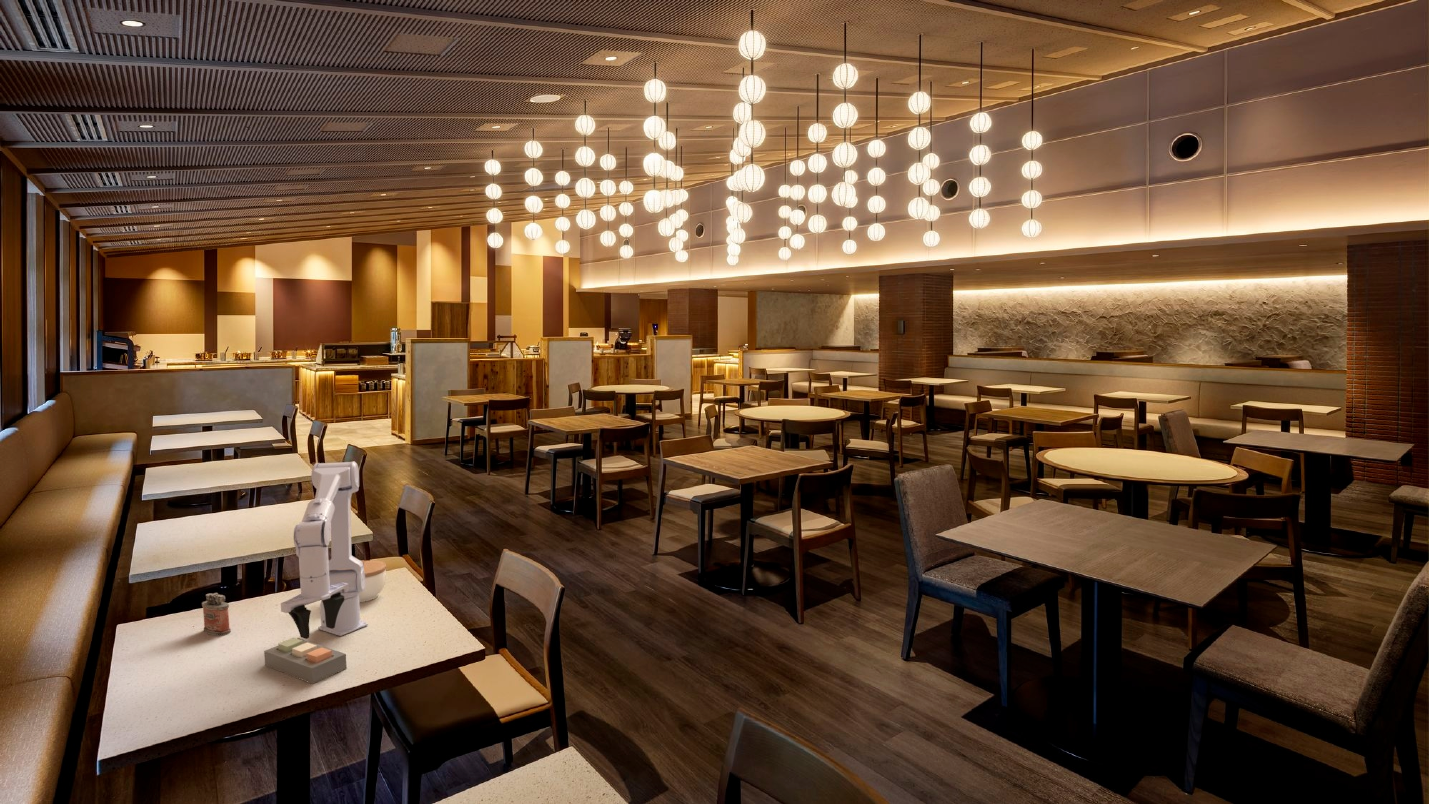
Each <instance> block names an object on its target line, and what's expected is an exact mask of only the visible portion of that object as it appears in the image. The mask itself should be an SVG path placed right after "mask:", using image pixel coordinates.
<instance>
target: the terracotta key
mask: <svg viewBox="0 0 1429 804" xmlns="http://www.w3.org/2000/svg"><path fill="white" fill-rule="evenodd" d="M306 655H307V661H310V662H313V663H315V664H316V663H319V662H321V661H323V660H326V659H328V658H330V657H332V651H331V650H328V649H325V648H322V647H321V648H319V649H316V650H314V651H311V652H309V653H306Z"/></svg>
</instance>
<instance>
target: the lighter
mask: <svg viewBox="0 0 1429 804" xmlns="http://www.w3.org/2000/svg"><path fill="white" fill-rule="evenodd" d="M205 598H206V600H205V601H202V602H201V606H202V609H203V611H202V612H203V625H204V627H203V632H204V633H206V634H209V635H213V636H220V637H222V636H226V635H229V634H231V628H230V619H229V618H230V617H229V608H230V604H229V603H228V602H225V601H226V596H225V595H223V594H219V593H218V592H214V593H207V594H205Z"/></svg>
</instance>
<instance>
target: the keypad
mask: <svg viewBox="0 0 1429 804" xmlns="http://www.w3.org/2000/svg"><path fill="white" fill-rule="evenodd" d="M296 639H299V640H302V641H303V644H305V643H307V642H308V643H311V644H314V645H317V649H319V648H321V647H322V648H325V649H328V650H331V651H332V657H330V658H328V659H326V660H323V661H321V662H319V663H316V664H315V663H313V662H310V661H307V656H306V657H303V658H299V657H296V656H293V655H292V651H291V652H289V653H285V652H282V651H279V650H278V645H276V646H273V647H271V648H269V649H266V650H264V652H263V655H264V666H265V667H269V668H270V669H274V670H276V671H279V672H281V673H283V672H284V674H286V675H289V676H291V677H294V676H295V677H294V678H297V679H299V678H300V680H302V679H303V680H302V681H304V682H307V681H308V682H307V683H310V684H312V685H313V684H315V683H318V682H320V681H322V680H325V679H326V677H327V678H329V677H331V676H333V675H335V673H336V674H338V673H339V672H338V671H340V672H342V671H344V670H343V669H345V670H346V668H347V653H344V652H341V651H340V650H335V649H332V648H329V647H327V646H323V645H320V644H318V643H314V642H313V641H312V642H311V641H309V640H307V639H304V638H301V637H297V638H296ZM341 670H342V671H341ZM337 672H338V673H337ZM332 674H333V675H332ZM328 676H329V677H328Z"/></svg>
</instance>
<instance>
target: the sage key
mask: <svg viewBox="0 0 1429 804" xmlns="http://www.w3.org/2000/svg"><path fill="white" fill-rule="evenodd" d="M302 644H303V641H302V640H299V639H297V638H295V637H291V638H288V639H287V640H284V641H281V642H278V643H277V646H278V650H279V651H282V652H285V653H289V652H291V651H292V648H294V647H297V646H299V645H302Z"/></svg>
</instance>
